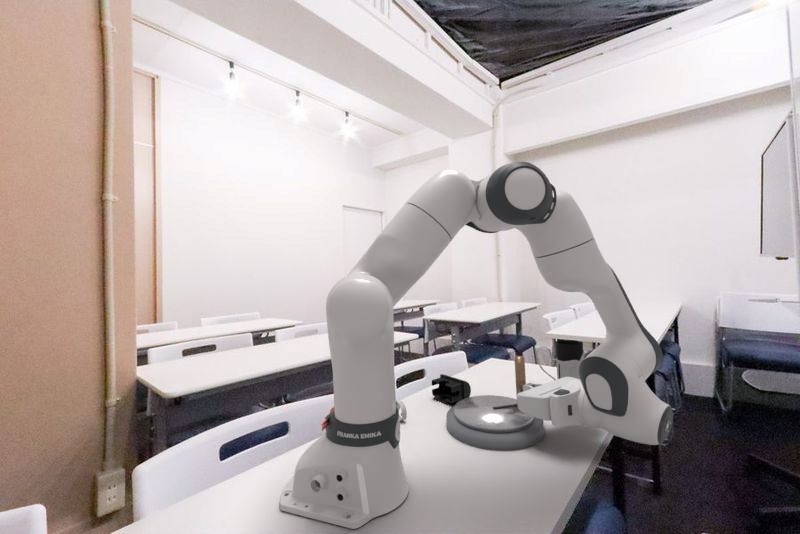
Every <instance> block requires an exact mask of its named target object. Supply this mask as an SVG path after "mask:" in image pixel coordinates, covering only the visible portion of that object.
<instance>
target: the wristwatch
mask: <svg viewBox="0 0 800 534" xmlns="http://www.w3.org/2000/svg"><path fill="white" fill-rule="evenodd" d="M396 407H397V408H398V412H399V413H400V409H401V413H400V414H399V418H400V422H402V421H405V420H406V419H407V415H408V414H407V407H406V405H405V403H404V401H402V400H401V399H399V400H396Z"/></svg>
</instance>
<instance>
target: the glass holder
mask: <svg viewBox="0 0 800 534" xmlns="http://www.w3.org/2000/svg"><path fill="white" fill-rule="evenodd" d="M583 343H584V342H582V341H579V340H572V339H562V340H556V341H555V348H556V351H555V352H556V358H553V356H552V352H551V349H550V348H549V347H547V346H544V345H541V346H539V347H538V348H537V349H536V351H535V357H536V361H537V363H538V365H539V368H540V369H541V370H542V371H543V373H545V374H546V375H547V376H549V377H550V378H551V379H553V381H554V380H557V379H560V378H563V377H573V378H577V379H580V377H579V366H580V364H581V362H582V361H583V360H584V359H585V351H584V344H583ZM542 348H545V349H547V350H548V352H549V358H550V360H552V361H555V362H556V376H557V379H556V378H555V377H553V376H552V375H551V374H550V373H548V372H547V371H546V370H545V369H544V368H543V367H542V365H541V364H540V361H539V358H538V351H539V349H542Z"/></svg>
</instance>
